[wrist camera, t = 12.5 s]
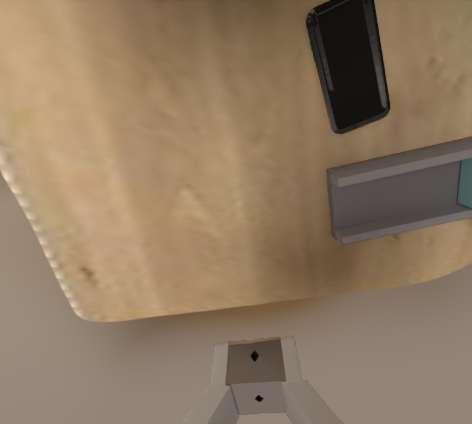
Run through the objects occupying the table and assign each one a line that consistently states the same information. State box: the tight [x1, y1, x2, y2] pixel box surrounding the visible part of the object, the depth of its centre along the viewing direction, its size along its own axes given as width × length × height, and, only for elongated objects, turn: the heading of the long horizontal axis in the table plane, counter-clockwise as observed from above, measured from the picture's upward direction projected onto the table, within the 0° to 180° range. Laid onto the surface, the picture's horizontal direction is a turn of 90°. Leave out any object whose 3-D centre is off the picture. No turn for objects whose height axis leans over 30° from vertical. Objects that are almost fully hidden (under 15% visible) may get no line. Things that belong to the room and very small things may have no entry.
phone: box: [306, 0, 390, 134], centre depth 32 cm, size 8×1×15 cm
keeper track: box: [326, 137, 472, 245], centre depth 33 cm, size 11×30×12 cm, turn 103°
